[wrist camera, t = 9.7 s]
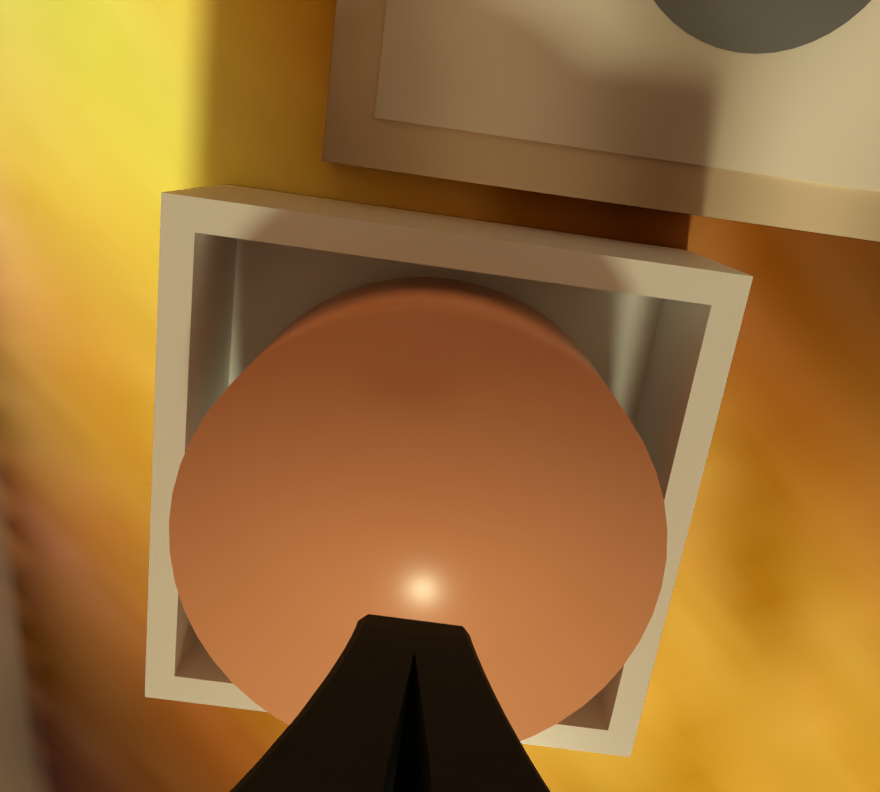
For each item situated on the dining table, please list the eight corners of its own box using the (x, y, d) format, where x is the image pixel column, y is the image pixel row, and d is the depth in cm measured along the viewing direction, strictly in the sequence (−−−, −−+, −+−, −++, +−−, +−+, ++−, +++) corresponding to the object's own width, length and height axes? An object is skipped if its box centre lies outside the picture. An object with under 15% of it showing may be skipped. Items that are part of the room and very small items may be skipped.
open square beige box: (687, 250, 18) (753, 276, 14) (597, 645, 21) (630, 757, 17) (225, 184, 17) (161, 192, 14) (202, 595, 20) (144, 696, 17)
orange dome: (662, 308, 16) (720, 350, 12) (581, 668, 18) (611, 785, 15) (237, 248, 15) (178, 274, 12) (214, 621, 18) (160, 729, 14)
